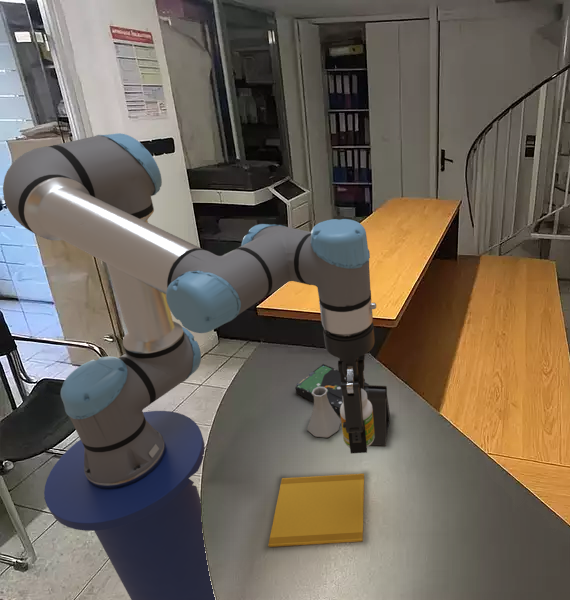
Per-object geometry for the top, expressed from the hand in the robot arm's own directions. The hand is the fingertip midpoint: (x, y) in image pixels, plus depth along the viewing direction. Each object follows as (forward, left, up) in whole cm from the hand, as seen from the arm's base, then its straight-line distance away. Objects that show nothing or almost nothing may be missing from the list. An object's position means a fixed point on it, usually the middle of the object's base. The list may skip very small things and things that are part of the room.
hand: (359, 437), depth 83 cm
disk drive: (-8, +30, -15) cm, 34 cm away
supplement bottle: (0, 0, -1) cm, 1 cm away
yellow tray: (-8, -2, -15) cm, 17 cm away
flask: (-9, +19, -15) cm, 26 cm away
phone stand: (+2, +17, -15) cm, 23 cm away
